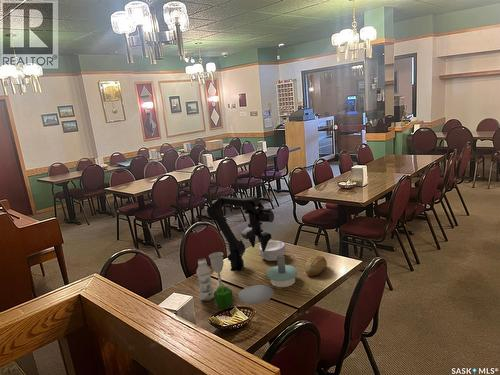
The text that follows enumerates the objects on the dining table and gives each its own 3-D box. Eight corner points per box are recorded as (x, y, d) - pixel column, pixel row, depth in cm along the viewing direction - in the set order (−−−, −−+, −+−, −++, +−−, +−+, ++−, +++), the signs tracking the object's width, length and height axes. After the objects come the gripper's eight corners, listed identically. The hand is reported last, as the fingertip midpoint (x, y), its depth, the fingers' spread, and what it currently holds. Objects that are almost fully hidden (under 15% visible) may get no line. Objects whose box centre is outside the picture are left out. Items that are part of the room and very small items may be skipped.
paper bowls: (258, 254, 213) (257, 242, 211) (283, 250, 214) (282, 238, 212) (262, 265, 198) (260, 252, 196) (288, 261, 199) (287, 248, 198)
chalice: (216, 293, 173) (211, 259, 169) (211, 287, 179) (206, 255, 175) (230, 288, 176) (225, 255, 173) (224, 283, 182) (220, 250, 179)
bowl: (269, 288, 172) (269, 279, 171) (272, 276, 184) (271, 268, 183) (294, 287, 170) (293, 279, 169) (295, 275, 181) (294, 267, 180)
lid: (265, 281, 170) (263, 264, 168) (269, 267, 184) (267, 251, 183) (296, 280, 167) (295, 263, 165) (297, 266, 182) (296, 250, 180)
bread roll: (331, 267, 186) (330, 253, 185) (318, 279, 175) (317, 264, 173) (315, 264, 192) (314, 250, 190) (301, 275, 181) (300, 261, 179)
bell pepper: (229, 312, 156) (226, 291, 154) (212, 309, 159) (209, 289, 157) (237, 301, 164) (234, 282, 161) (221, 299, 167) (218, 280, 165)
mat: (234, 305, 161) (234, 304, 161) (241, 286, 177) (241, 285, 177) (271, 304, 158) (271, 303, 158) (275, 285, 174) (275, 284, 174)
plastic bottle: (201, 296, 172) (194, 258, 168) (214, 294, 172) (209, 256, 168) (200, 303, 166) (193, 264, 161) (214, 301, 166) (208, 262, 162)
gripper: (232, 222, 188) (236, 249, 191) (252, 229, 173) (256, 258, 176) (249, 216, 194) (253, 243, 197) (270, 222, 179) (274, 251, 182)
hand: (258, 249), depth 188 cm, fingers open, 9 cm apart
